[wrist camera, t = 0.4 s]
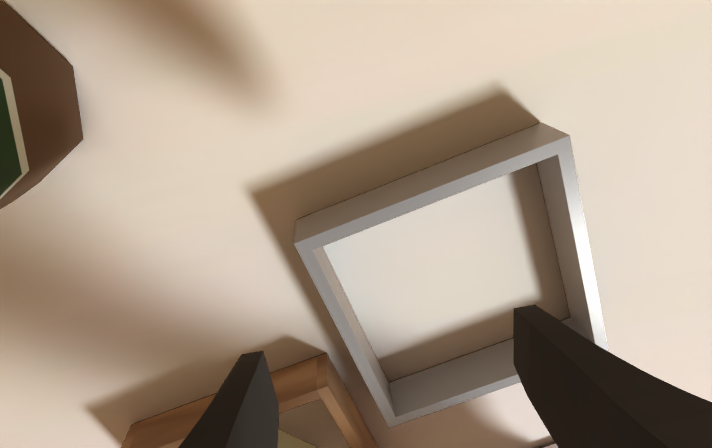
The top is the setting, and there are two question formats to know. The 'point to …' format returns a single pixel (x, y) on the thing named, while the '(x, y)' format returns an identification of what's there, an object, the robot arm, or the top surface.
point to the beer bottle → (32, 107)
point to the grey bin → (425, 188)
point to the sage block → (291, 441)
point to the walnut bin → (293, 388)
